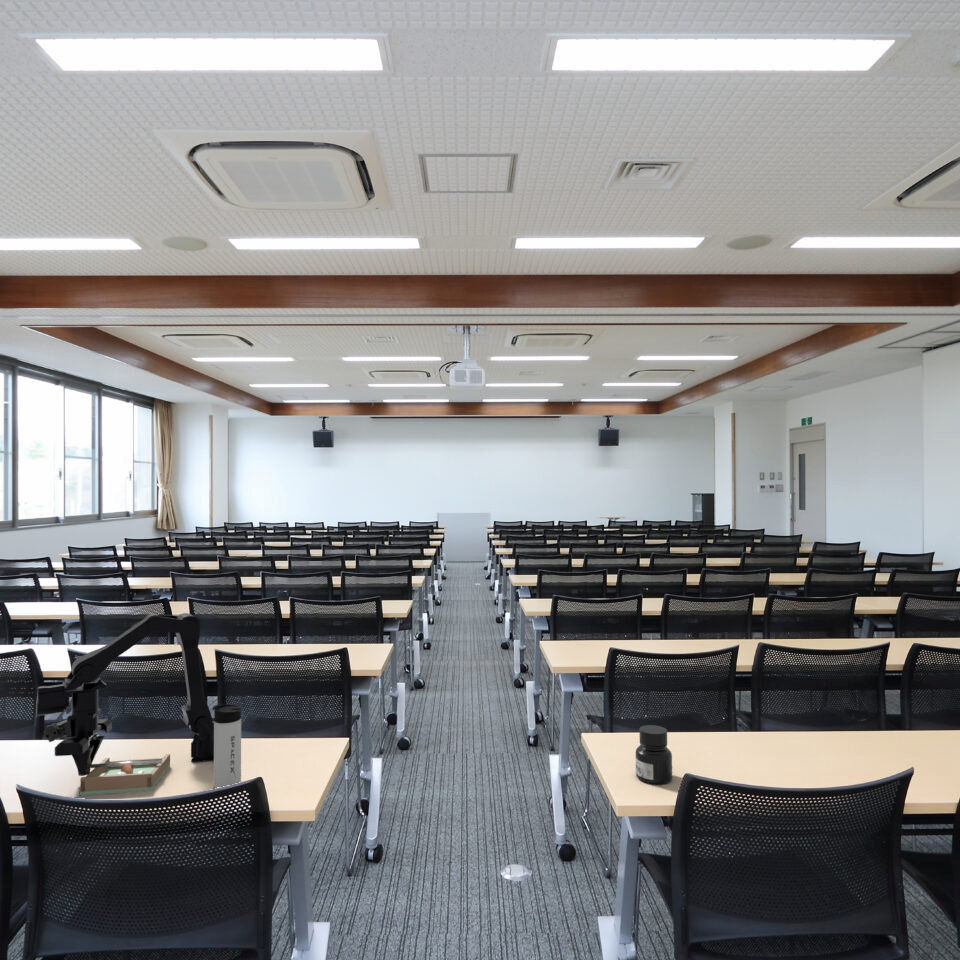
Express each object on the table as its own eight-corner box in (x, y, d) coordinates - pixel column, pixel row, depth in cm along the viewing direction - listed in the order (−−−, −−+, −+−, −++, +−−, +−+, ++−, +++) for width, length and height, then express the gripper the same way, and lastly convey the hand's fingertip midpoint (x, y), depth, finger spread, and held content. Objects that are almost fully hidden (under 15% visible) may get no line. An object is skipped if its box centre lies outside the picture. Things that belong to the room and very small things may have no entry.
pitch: (170, 766, 178) (170, 751, 178) (151, 790, 163) (151, 773, 163) (105, 770, 175) (105, 755, 175) (80, 795, 160) (80, 778, 161)
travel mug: (216, 783, 166) (217, 702, 167) (243, 782, 167) (244, 701, 168) (208, 794, 160) (209, 710, 161) (237, 793, 161) (237, 709, 161)
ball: (123, 777, 162) (125, 788, 163) (128, 768, 166) (129, 779, 166) (109, 777, 162) (111, 789, 163) (114, 769, 165) (116, 780, 166)
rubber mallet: (163, 771, 171) (163, 746, 172) (159, 776, 169) (160, 749, 169) (80, 777, 168) (81, 751, 169) (76, 781, 166) (76, 755, 166)
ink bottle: (630, 770, 172) (630, 723, 173) (664, 769, 173) (663, 722, 173) (642, 786, 163) (642, 736, 163) (678, 785, 163) (677, 735, 164)
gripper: (67, 699, 176) (66, 759, 175) (30, 722, 157) (30, 789, 157) (112, 697, 178) (112, 756, 177) (81, 719, 159) (81, 786, 159)
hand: (84, 771), depth 167 cm, fingers closed on rubber mallet, 3 cm apart
